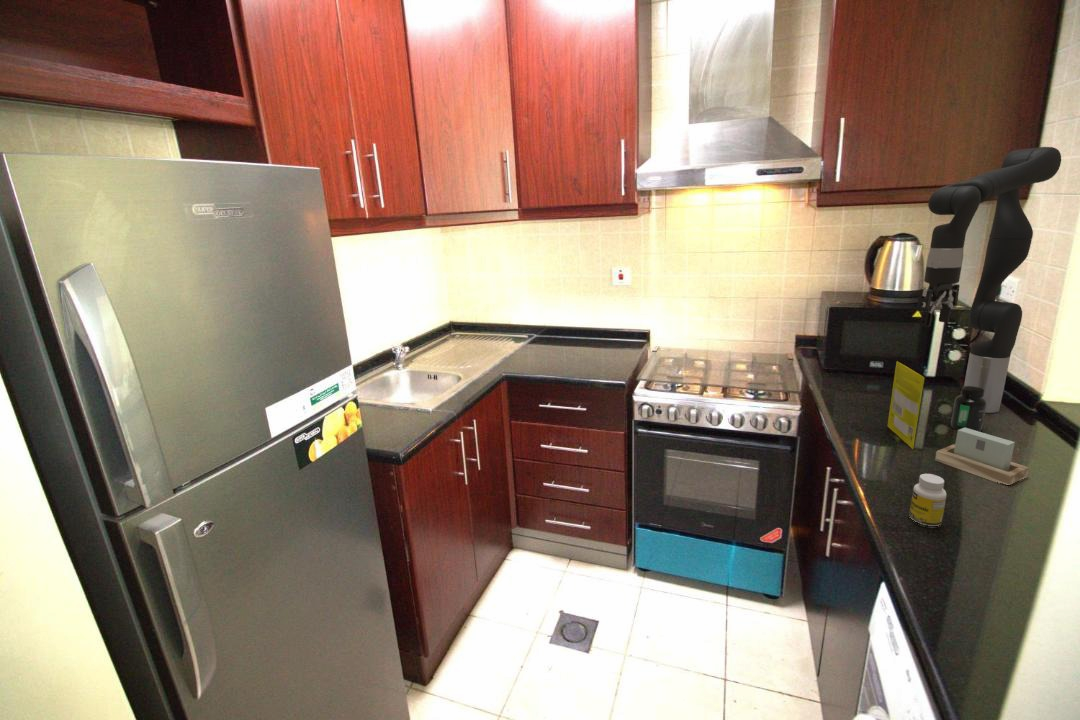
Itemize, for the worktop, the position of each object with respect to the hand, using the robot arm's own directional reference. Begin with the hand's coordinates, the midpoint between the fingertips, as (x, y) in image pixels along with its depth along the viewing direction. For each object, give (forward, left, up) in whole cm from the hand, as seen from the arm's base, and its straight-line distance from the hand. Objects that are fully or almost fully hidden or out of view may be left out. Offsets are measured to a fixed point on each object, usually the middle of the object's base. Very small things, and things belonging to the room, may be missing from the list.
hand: (934, 324), depth 141 cm
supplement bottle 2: (-8, +8, -30) cm, 32 cm away
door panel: (+15, +22, -30) cm, 40 cm away
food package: (+13, +2, -30) cm, 33 cm away
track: (+15, +22, -30) cm, 40 cm away
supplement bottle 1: (+48, +28, -30) cm, 63 cm away
